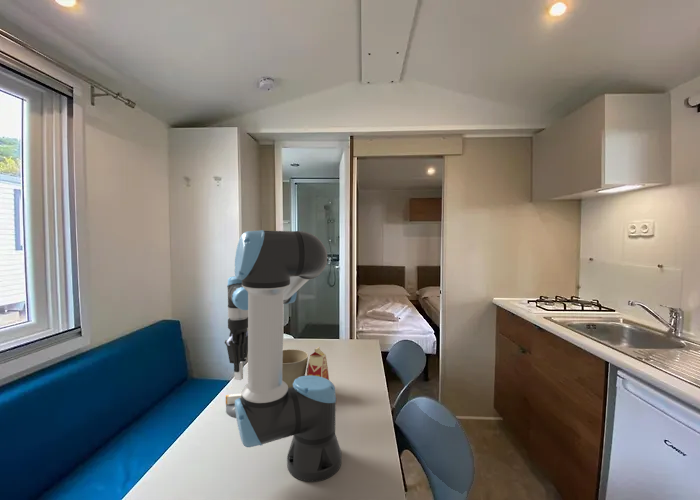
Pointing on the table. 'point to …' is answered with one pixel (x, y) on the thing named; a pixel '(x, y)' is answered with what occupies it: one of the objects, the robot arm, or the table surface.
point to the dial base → (231, 410)
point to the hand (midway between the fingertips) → (238, 378)
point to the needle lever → (232, 398)
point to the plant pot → (293, 365)
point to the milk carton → (318, 364)
